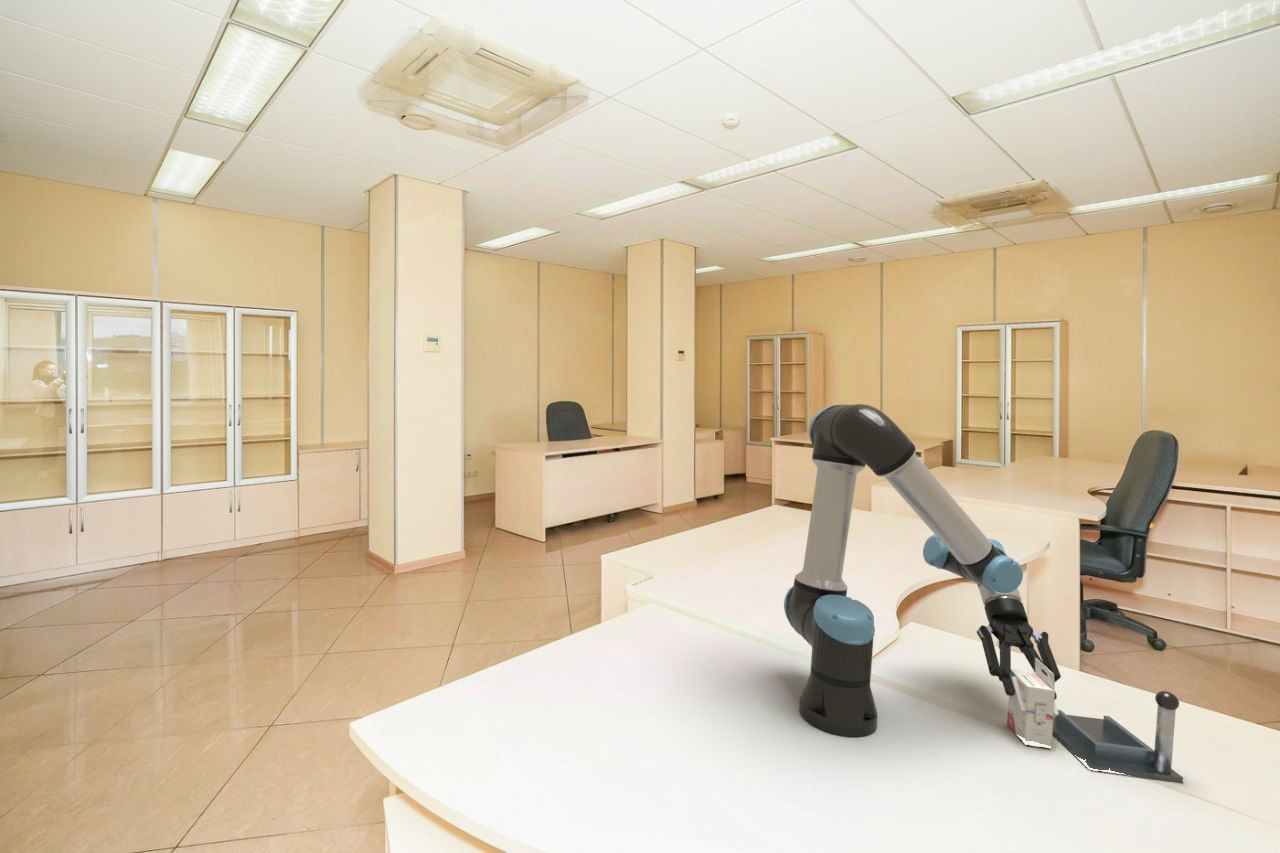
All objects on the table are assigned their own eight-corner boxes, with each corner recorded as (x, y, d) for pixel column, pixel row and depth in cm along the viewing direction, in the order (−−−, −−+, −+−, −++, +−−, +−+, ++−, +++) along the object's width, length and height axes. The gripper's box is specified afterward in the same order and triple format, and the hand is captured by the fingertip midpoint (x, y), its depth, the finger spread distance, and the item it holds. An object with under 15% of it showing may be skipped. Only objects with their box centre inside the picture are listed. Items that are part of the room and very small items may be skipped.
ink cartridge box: (1005, 723, 120) (1009, 653, 120) (1031, 727, 119) (1036, 656, 119) (1023, 746, 111) (1028, 670, 111) (1052, 750, 110) (1057, 674, 110)
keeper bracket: (1089, 770, 104) (1095, 687, 104) (1031, 715, 124) (1036, 645, 124) (1182, 783, 102) (1189, 698, 102) (1108, 724, 122) (1113, 653, 122)
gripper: (1040, 616, 130) (1079, 727, 114) (953, 608, 132) (980, 715, 116) (1054, 600, 124) (1098, 714, 108) (964, 591, 127) (994, 701, 111)
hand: (1037, 714), depth 112 cm, fingers closed on ink cartridge box, 5 cm apart
